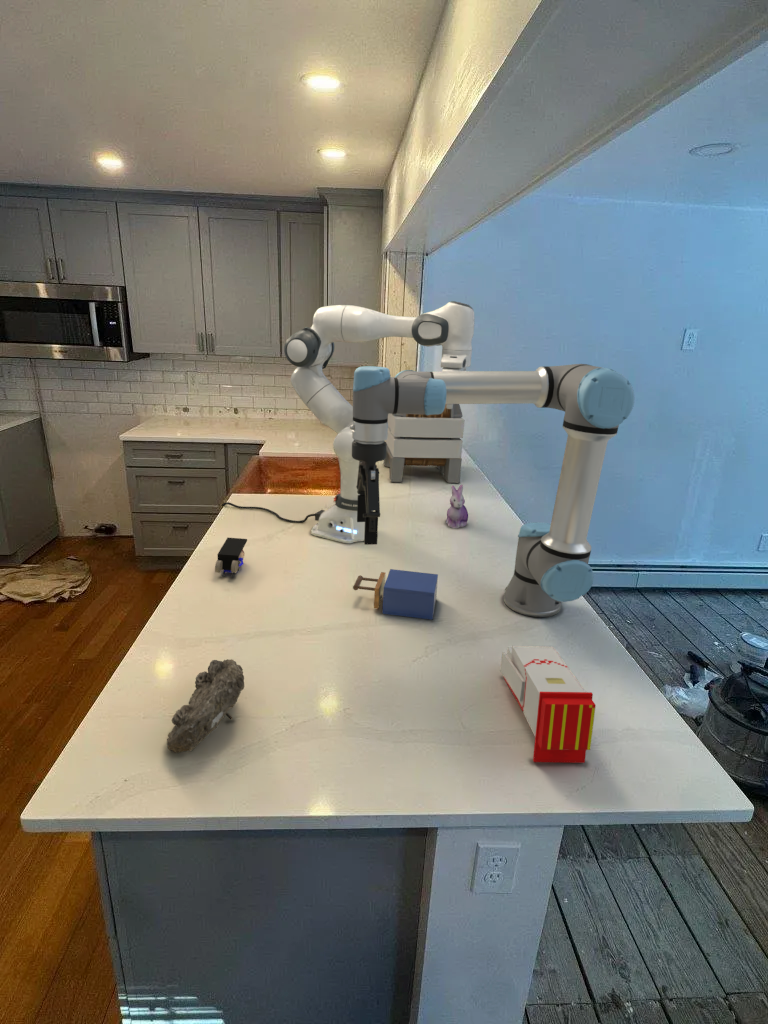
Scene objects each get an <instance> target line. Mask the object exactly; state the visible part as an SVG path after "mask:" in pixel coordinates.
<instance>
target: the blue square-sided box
mask: <svg viewBox="0 0 768 1024" xmlns="http://www.w3.org/2000/svg"><path fill="white" fill-rule="evenodd" d="M438 580H439V574H437V573H431V572H430V573H429V572H419V571H410V570H404V569H403V570H401V569H393V568H390V569H389V572H388V574H387V577H386V579H385V585H384V590H383V598H382V611H381V612H382V614H383V615H391V616H399V617H407V618H413V619H414V618H416V619H422V620H423V619H424V620H430V621H432V620H433V619H434V613H435V609H436V601H437V592H438Z"/></svg>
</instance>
